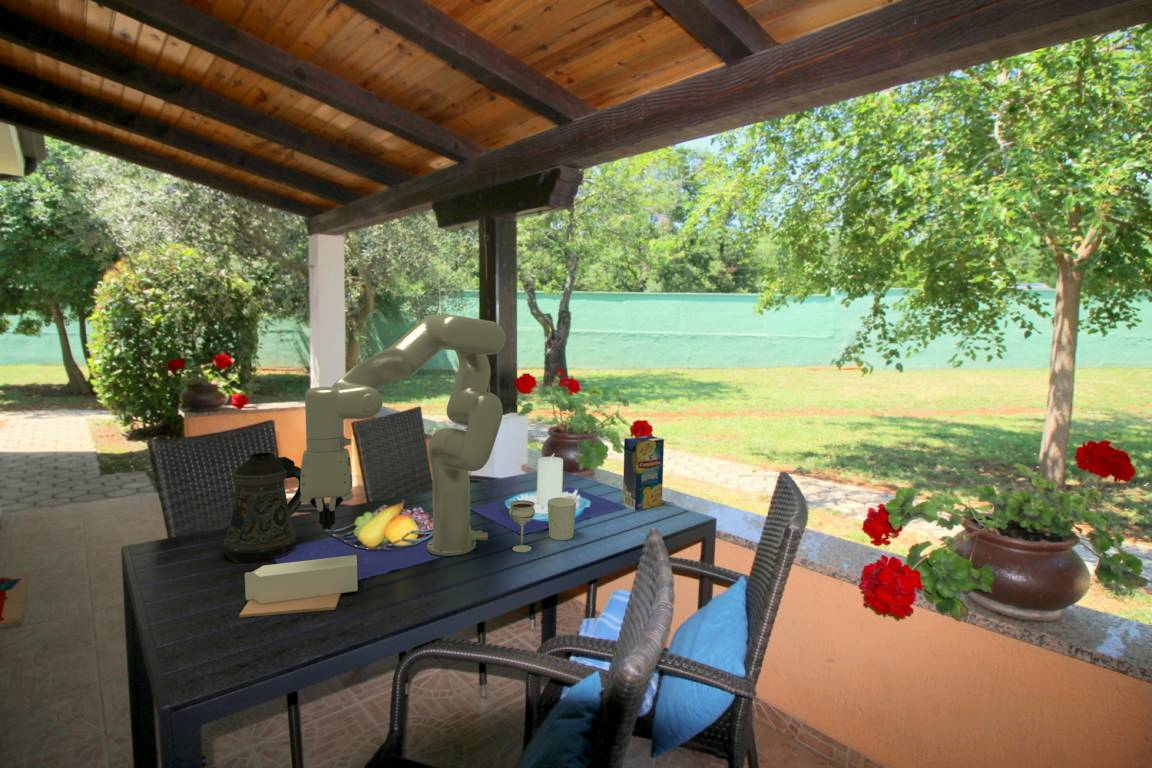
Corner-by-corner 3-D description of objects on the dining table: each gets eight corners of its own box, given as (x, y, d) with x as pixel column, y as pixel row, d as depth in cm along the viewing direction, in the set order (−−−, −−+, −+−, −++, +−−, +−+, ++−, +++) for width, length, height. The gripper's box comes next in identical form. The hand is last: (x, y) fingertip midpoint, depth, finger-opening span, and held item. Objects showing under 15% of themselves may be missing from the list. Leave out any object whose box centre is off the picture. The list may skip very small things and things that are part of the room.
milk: (357, 579, 137) (248, 594, 129) (356, 554, 136) (246, 566, 129) (357, 591, 131) (243, 606, 124) (356, 564, 131) (241, 578, 123)
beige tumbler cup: (579, 539, 166) (580, 504, 165) (552, 542, 163) (553, 506, 162) (569, 530, 173) (570, 496, 172) (543, 533, 170) (543, 498, 169)
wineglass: (506, 545, 161) (506, 501, 159) (530, 542, 163) (530, 499, 162) (512, 554, 154) (512, 509, 153) (538, 551, 157) (538, 506, 155)
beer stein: (208, 558, 149) (203, 459, 147) (269, 532, 168) (265, 444, 165) (261, 567, 144) (257, 465, 142) (318, 539, 163) (315, 448, 160)
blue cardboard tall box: (662, 505, 197) (664, 439, 195) (635, 510, 192) (637, 442, 189) (648, 499, 203) (650, 435, 201) (622, 504, 197) (624, 438, 195)
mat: (349, 569, 144) (349, 567, 144) (335, 609, 124) (335, 606, 124) (267, 575, 140) (267, 573, 140) (239, 617, 120) (239, 614, 120)
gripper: (364, 440, 135) (365, 519, 137) (292, 442, 132) (294, 523, 134) (359, 447, 128) (361, 531, 130) (283, 449, 125) (286, 535, 126)
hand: (327, 527), depth 132 cm, fingers closed
